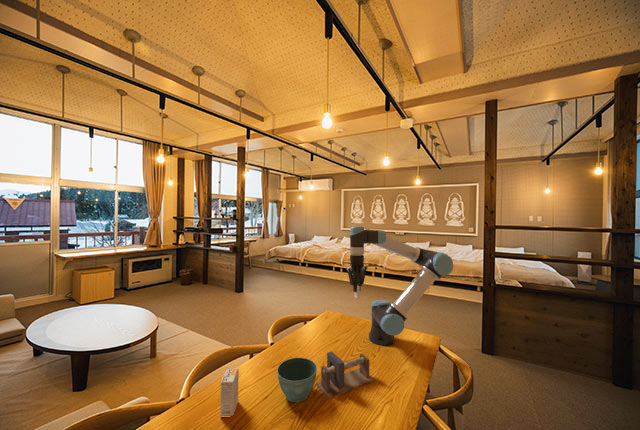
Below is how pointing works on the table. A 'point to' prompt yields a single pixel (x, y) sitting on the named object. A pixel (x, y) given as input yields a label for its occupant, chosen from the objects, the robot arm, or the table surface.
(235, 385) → the supplement box
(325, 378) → the pipe stand
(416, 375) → the table surface
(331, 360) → the ring
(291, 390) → the flower pot
